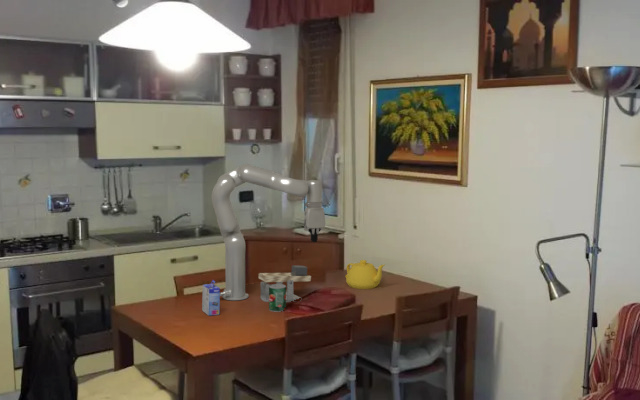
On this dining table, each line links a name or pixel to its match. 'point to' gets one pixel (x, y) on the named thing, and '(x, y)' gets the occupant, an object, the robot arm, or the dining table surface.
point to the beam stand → (289, 292)
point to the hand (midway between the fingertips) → (314, 241)
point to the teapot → (363, 275)
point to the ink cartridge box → (211, 299)
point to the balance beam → (282, 277)
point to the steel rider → (299, 271)
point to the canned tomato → (277, 297)
